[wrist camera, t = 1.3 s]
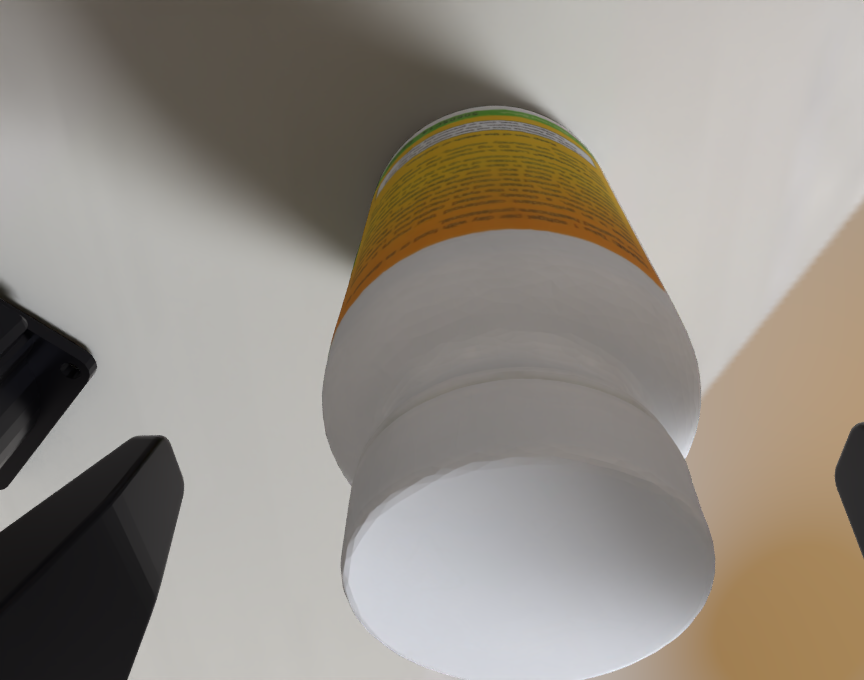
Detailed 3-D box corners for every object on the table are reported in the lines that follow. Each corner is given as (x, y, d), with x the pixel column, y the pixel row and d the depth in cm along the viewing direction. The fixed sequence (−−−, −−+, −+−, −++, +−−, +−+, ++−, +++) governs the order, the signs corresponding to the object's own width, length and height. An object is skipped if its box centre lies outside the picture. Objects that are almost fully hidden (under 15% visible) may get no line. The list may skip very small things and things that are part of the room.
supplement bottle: (326, 175, 14) (159, 515, 6) (550, 49, 13) (704, 292, 5) (442, 351, 17) (426, 753, 9) (641, 264, 15) (840, 659, 7)
